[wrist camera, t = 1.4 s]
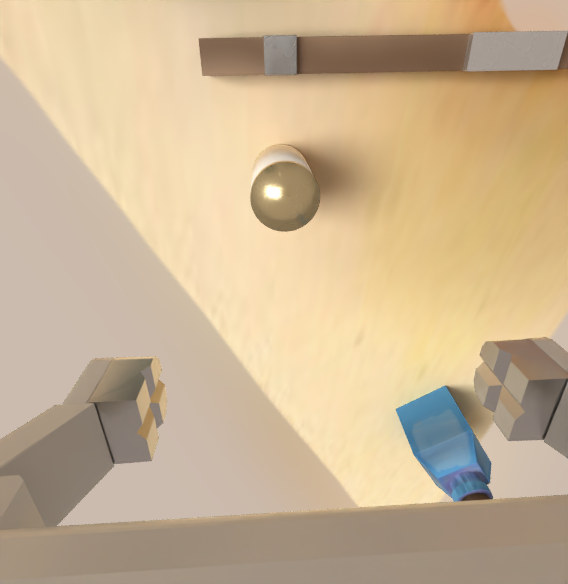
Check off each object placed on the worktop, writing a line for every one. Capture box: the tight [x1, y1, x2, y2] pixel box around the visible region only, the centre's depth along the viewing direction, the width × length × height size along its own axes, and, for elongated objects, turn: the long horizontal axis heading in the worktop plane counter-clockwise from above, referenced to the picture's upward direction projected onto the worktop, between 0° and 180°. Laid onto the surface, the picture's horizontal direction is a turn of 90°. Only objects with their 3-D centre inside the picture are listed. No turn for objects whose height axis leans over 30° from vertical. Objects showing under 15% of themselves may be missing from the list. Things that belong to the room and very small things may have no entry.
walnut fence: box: [199, 31, 568, 76], centre depth 26 cm, size 2×26×4 cm, turn 91°
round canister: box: [251, 144, 320, 231], centre depth 28 cm, size 4×4×7 cm
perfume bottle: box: [396, 386, 493, 502], centre depth 40 cm, size 6×6×12 cm
